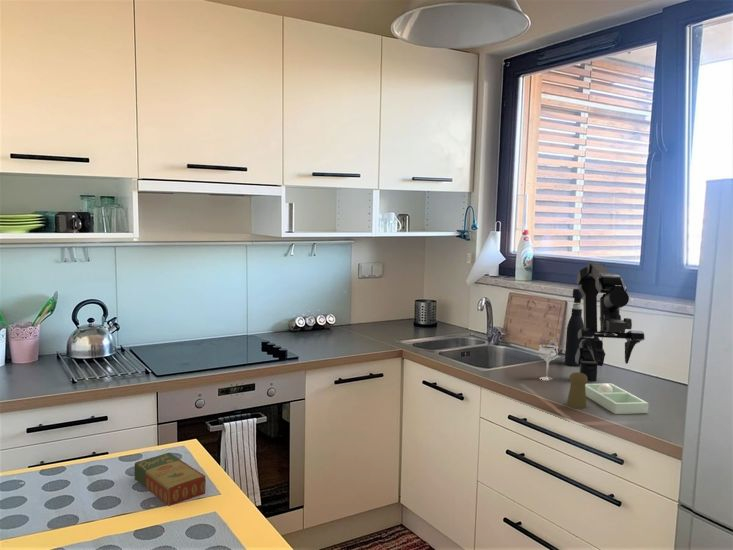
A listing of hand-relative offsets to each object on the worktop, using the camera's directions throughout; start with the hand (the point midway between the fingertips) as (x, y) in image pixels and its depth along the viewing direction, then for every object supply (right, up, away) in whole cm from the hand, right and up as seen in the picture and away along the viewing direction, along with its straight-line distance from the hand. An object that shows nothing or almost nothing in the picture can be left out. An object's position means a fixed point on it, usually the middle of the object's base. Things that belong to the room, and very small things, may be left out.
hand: (611, 362), depth 185 cm
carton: (-117, -17, -60) cm, 133 cm away
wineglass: (-11, -10, +29) cm, 33 cm away
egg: (0, -12, +6) cm, 13 cm away
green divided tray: (+1, -14, +1) cm, 14 cm away
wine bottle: (+6, -8, +50) cm, 51 cm away
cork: (-12, -14, -2) cm, 18 cm away
